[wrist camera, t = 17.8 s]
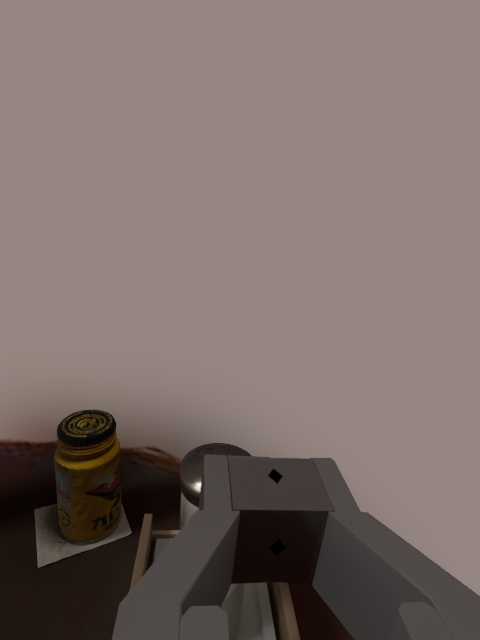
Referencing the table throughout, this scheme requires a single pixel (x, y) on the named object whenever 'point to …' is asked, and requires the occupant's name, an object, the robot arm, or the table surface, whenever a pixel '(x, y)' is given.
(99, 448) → the condiment
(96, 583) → the table surface
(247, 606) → the tray
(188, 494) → the canister
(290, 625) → the housing
